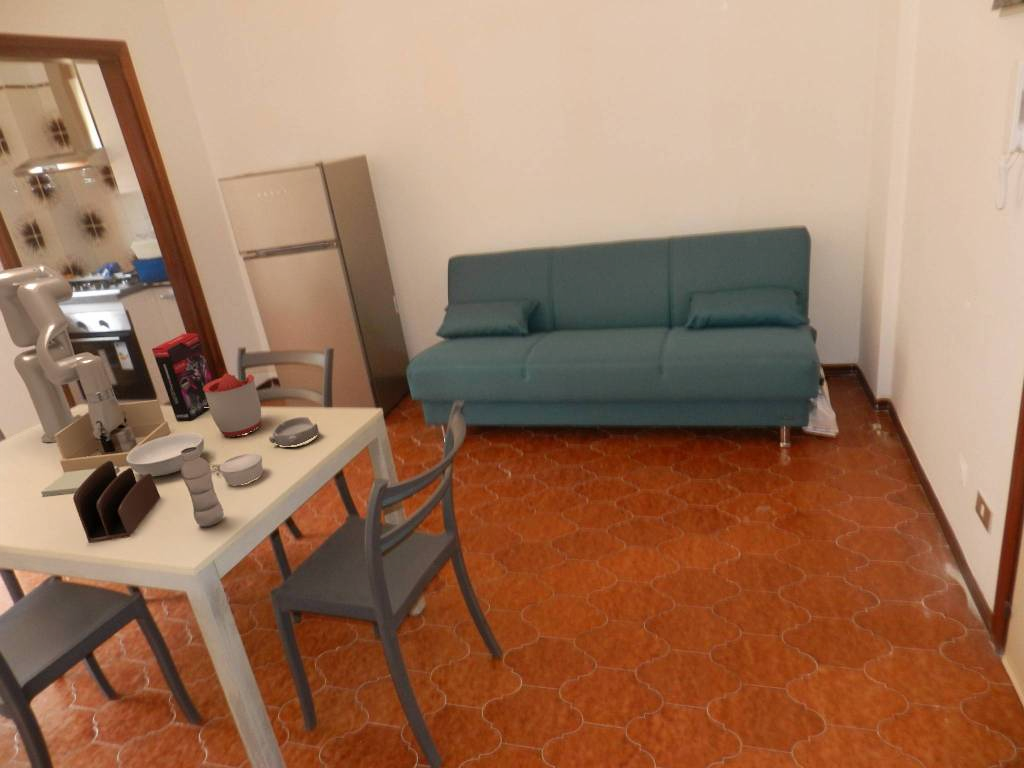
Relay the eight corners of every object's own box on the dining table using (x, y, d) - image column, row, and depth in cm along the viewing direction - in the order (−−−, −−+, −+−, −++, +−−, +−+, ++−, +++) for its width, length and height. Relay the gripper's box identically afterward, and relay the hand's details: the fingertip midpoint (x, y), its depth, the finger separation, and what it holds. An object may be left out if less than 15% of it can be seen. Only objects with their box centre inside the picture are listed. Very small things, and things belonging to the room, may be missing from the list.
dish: (302, 427, 222) (298, 413, 220) (330, 434, 214) (326, 419, 212) (264, 446, 211) (260, 431, 210) (292, 454, 203) (288, 439, 202)
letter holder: (88, 543, 168) (68, 493, 163) (123, 503, 186) (106, 456, 182) (129, 537, 168) (111, 486, 163) (161, 497, 187) (145, 450, 182)
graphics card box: (191, 421, 239) (168, 347, 230) (174, 422, 241) (150, 348, 232) (220, 402, 255) (199, 332, 246) (203, 403, 257) (182, 333, 247)
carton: (107, 439, 233) (95, 406, 229) (170, 432, 232) (160, 399, 228) (64, 472, 210) (50, 437, 206) (134, 464, 210) (121, 429, 205)
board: (68, 476, 208) (66, 472, 207) (119, 470, 207) (118, 466, 206) (42, 496, 196) (40, 491, 196) (97, 490, 196) (95, 485, 195)
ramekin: (255, 465, 199) (250, 449, 197) (273, 475, 191) (268, 458, 189) (217, 481, 192) (212, 464, 190) (234, 493, 184) (229, 475, 182)
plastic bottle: (202, 518, 173) (179, 446, 166) (229, 514, 173) (207, 442, 166) (193, 532, 167) (169, 458, 160) (221, 527, 167) (198, 453, 160)
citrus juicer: (278, 418, 232) (264, 362, 225) (249, 440, 217) (232, 381, 210) (238, 418, 236) (223, 364, 229) (206, 441, 221) (189, 383, 214)
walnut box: (110, 449, 224) (103, 430, 221) (137, 446, 223) (130, 427, 221) (102, 456, 219) (94, 436, 217) (129, 453, 219) (122, 433, 216)
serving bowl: (224, 453, 210) (217, 432, 208) (172, 487, 192) (164, 465, 189) (171, 450, 217) (165, 430, 215) (116, 483, 199) (109, 462, 197)
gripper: (103, 387, 223) (120, 435, 229) (71, 407, 207) (91, 459, 213) (126, 384, 223) (142, 432, 229) (96, 404, 206) (114, 456, 212)
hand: (118, 445), depth 220 cm, fingers open, 8 cm apart
